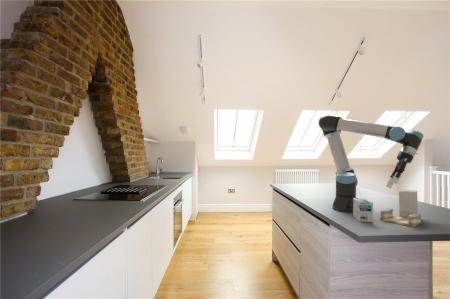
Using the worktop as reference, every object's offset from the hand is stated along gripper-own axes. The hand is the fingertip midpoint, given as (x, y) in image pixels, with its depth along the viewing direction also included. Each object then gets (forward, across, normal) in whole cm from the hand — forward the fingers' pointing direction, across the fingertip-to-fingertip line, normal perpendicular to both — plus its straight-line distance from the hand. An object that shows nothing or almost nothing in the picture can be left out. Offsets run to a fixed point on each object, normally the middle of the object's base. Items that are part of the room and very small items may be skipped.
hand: (391, 185), depth 139 cm
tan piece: (+19, -8, -10) cm, 23 cm away
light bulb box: (+28, -12, +6) cm, 31 cm away
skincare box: (+13, +3, -14) cm, 20 cm away
